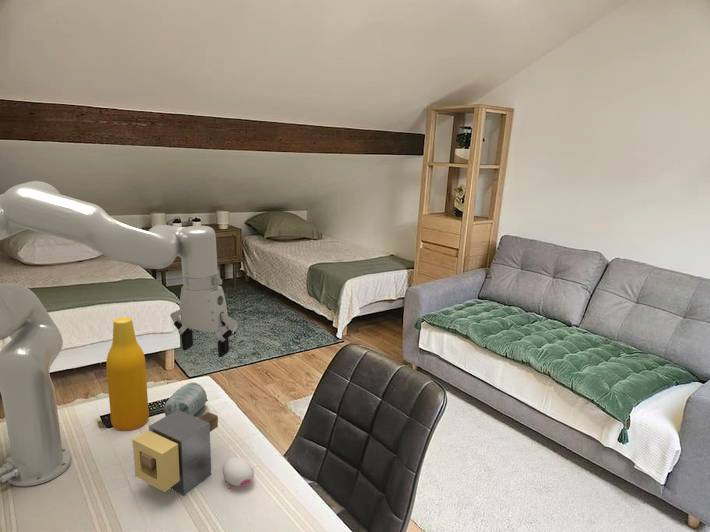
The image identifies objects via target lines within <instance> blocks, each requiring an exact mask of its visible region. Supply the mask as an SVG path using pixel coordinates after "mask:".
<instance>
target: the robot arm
mask: <svg viewBox="0 0 710 532" xmlns="http://www.w3.org/2000/svg"><path fill="white" fill-rule="evenodd" d="M26 230H30V231H32V232H33V231H34V232H37V233H41V234H46V235H49V236H53V237H57V238H60V239H64V240H67V241H71V242H75V243H79V244H82V245H85V246H87V247H88V248H89V249H92V250H93V251H95V252H98V253H100V254H102V255H104V256H107V257H108V258H111V259H113V260H117V261H118V262H119V261H120V262H123V263H126V264H129V265H134V266H138V267H142V268H146V269H150V270H151V269H152V270H160V269H164V268H167V267H169V266H171V265H172V264H173V263H174V262H175V261H176V258H177V257H180V259H181V271H182V273H181V274H182V283H183V286H181V291H180V297H179V309H178V310H176V311H173V312H172V313H170V314H169V315H170V318H171V321H172V322H173V325H174V327H175V328H176V329H177V330H178V331H177V333H178V334H179V335H180V337H181V346H182V351H187V350H189V349H190V348H191V347H194V334H193V331H192V330H195V331H201V332H202V331H203V332H207V333H214V334H215V335H216V337H217V338H218V340H217V353H218V357H219V358H223V357H224V356H225V355H226V354H228V353H229V351H230V344H229V342H230V341H229V339H230V337H231V336H233V334H234V333H235V332H236V329H237V327H238V325H239V323H238V321H236V320H235V319H234V318H233V317H230V316H229V315H228V308H227V301H226V296H225V292H224V290H223V286H221V285H223V279H222V278H219V273H218V271H219V270H218V254H217V252H218V251H217V237H216V236H217V235H216V232H215V229H214V228H213V227H211V226H208V225H192V226H191V225H190V226H176V225H169V224H157V225H155V226H152V227H151V228H150V229H149V230H145V229H140V228H137V227H135V226H131V225H128V224H125V223H123V222H121V221H119V220H117V219H115V218H113V217H112V216H110V215H109V214H108V213H107V212H106V211H105V210H104V209H103V208H102V207H101V206H100V205H97V204H95V203H92V202H88V201H85V200H82V199H77V198H74V197H70V196H67V195H64V194H61V193H60V191H59V190H58V189H57V188H56V187H54V186H53V185H51V184H50V183H47V182H45V181H40V180H34V181H33V180H32V181H27V182H24V183H19V184H16V185H13V186H12V187H10V188H9V189H7V190H6V191H5V192H4V193H1V194H0V241H3V240H4V239H6V238H9V237H12V236H14V235H16V234H18V233H21V232H22V231H26ZM227 326H228V328H227ZM9 337H10V339H11V340H9V342H7V343H6V345H5V346H3V348H2V349H0V395H1V400H2V405H3V412H4V416H5V417H4V418H5V423H6V428H7V429H6V430H7V436H8V442H9V443H8V444H9V449H10V450H9V451H10V456H8V457H6V463H5V464H3V465H2V467H0V482H2V484H3V483H5V482H7V483H8V484H10V485H13V486H15V487H30V486H31V487H32V486H37V485H41V484H44V483H46V482H49V481H51V480H53V479H55V478H57V477H59V476H60V475H61V474H62V473H64V472H65V471H66V470H67V469H68V468H69V466H70V465H71V463H72V455H71V453H70V451H69V450H68V449H67V448H64V447H63V446H62V437H61V428H60V420H59V414H58V413H59V411H58V404H57V403H58V401H57V395H56V389H55V385H54V383H53V381H52V378H51V375H50V369H51V366H52V365H53V363H54V362H55V360H56V359H57V358H58V356H59V354H60V353H61V351H62V349H63V345H64V343H63V342H64V340H63V336H62V333H61V332H60V330H59V328H58V326H57V324H56V323H55V322H54V320H53V319H52V317H51V315H50V314H49V312H48V311H47V309H46V308H45V306H44V305H43V303H42V302H41V300H40V299H39V297H38V296H37V295H36V294H35V292H34V291H32V290H31V289H30V288H28V287H27V286H24V285H23V284H20V283H16V282H7V283H2V282H0V341H2V340H3V341H4V340H5V339H7V338H9Z"/></svg>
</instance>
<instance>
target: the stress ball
mask: <svg viewBox="0 0 710 532" xmlns="http://www.w3.org/2000/svg"><path fill="white" fill-rule="evenodd" d="M222 475H223V477H224V480H225V481H227V483H229V484H231V485H229V487H228V490H230V491H232V486H236V487H243V486H247V485H249V484H250V483H251V482H252V481H253V480H254V477H255V470H254V468H253V466H252V464H251V463H250V462H249V461H248V460H246V459H244V458H242V457H231V458H229V459H227V460H226V461H225V462H224V463H223V466H222Z"/></svg>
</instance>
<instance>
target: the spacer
mask: <svg viewBox="0 0 710 532" xmlns="http://www.w3.org/2000/svg"><path fill="white" fill-rule="evenodd" d="M131 442H132V450H133V451H132V453H133V465H134V475H135V477H137V478H138V479H140V480H142V481H143V482H145V483H148V484H149V485H151V486H152V487H154V488H156V489H158V490H160V491H162V492H164V493H165V492H167V491H168V490H170V488H171V487H172V486H173V485H175V484H176V483H177V482H179V481H180V475H179V454H178V444H177V443H175V442H173V441H171V440H168V439H166V438H164V437H162V436H160V435H158V434H156V433H154V432H151V431H149V429H148V430H146V431H144V432H143V433H141V434H140V435H138V436H136V437H134V438H132V441H131ZM141 453H144V454H146V455H148V456H150V457H152V458H154V459H156V469H154V470H153V471H149V470H148V469H146V468H144V467H142V466H141Z"/></svg>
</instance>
